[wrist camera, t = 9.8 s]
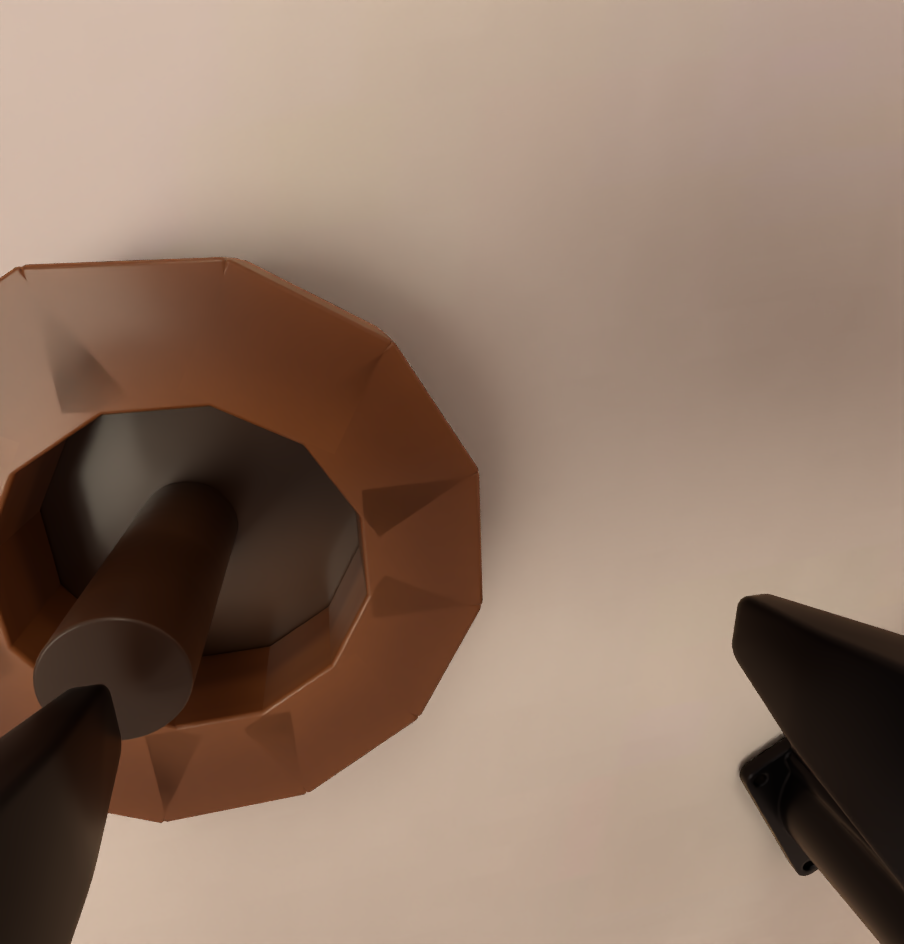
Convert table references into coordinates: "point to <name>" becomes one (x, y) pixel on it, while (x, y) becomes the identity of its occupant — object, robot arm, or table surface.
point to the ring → (289, 415)
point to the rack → (183, 553)
